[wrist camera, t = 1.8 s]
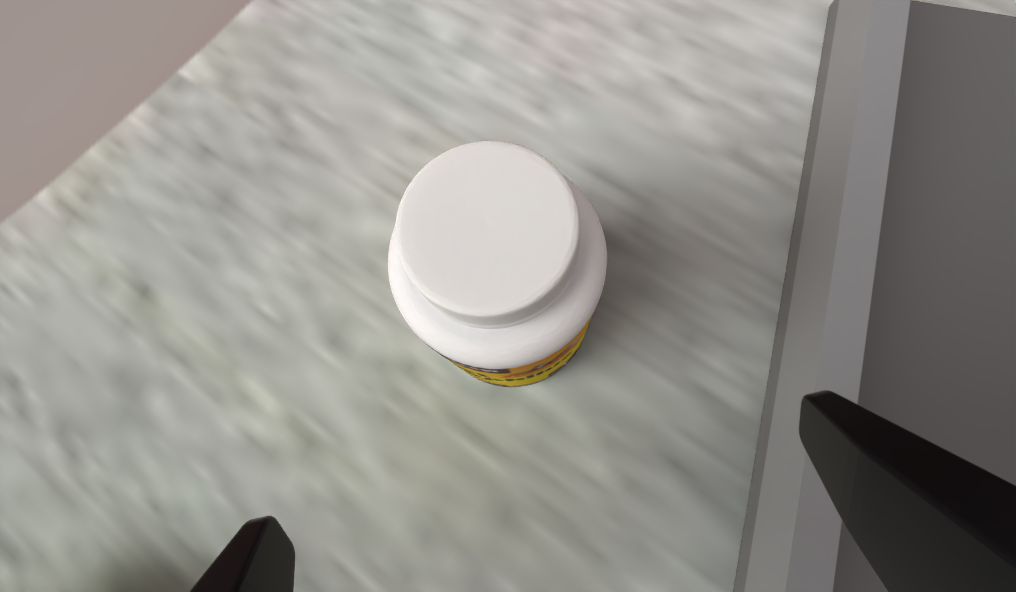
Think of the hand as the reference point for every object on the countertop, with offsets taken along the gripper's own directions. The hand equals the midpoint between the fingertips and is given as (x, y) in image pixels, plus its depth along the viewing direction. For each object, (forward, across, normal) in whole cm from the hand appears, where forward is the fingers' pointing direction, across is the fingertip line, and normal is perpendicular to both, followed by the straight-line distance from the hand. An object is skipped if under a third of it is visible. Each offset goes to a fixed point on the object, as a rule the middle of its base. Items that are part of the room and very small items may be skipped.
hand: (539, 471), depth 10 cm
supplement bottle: (+12, 0, +5) cm, 13 cm away
